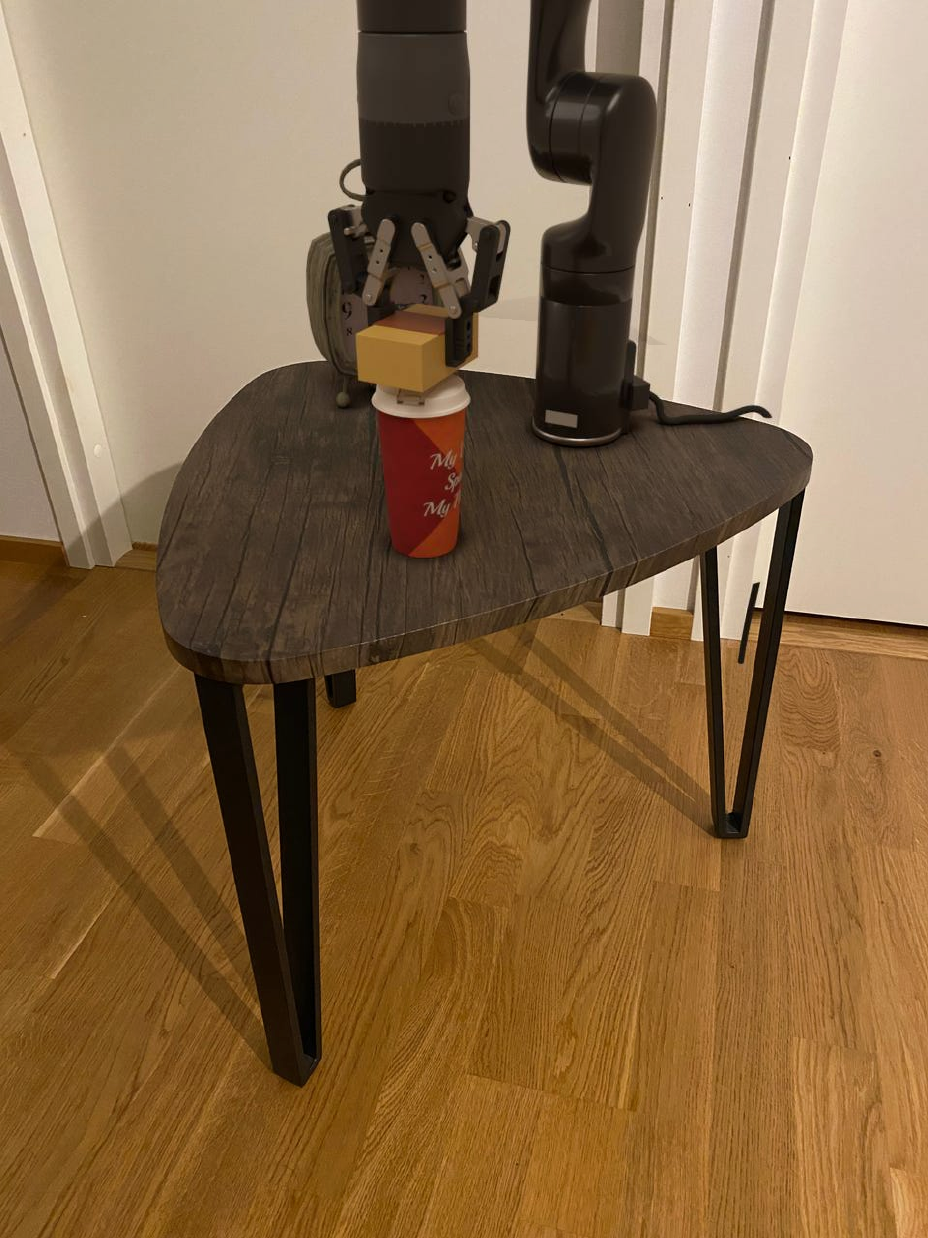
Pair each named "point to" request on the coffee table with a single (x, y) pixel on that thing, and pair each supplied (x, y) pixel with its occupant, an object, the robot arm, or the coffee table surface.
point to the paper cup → (423, 464)
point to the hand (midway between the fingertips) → (419, 357)
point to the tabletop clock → (351, 301)
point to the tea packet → (408, 349)
